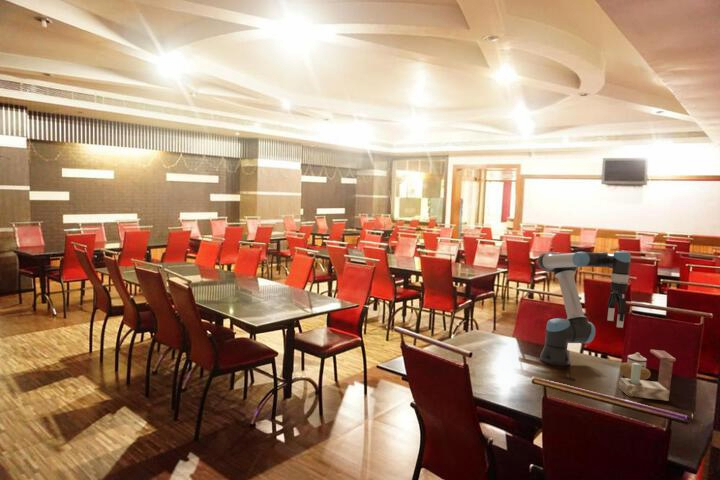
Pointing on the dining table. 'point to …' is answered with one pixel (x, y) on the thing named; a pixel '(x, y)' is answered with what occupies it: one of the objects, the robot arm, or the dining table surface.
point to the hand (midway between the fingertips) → (614, 323)
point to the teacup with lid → (637, 359)
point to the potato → (627, 368)
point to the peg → (635, 373)
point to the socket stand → (650, 387)
